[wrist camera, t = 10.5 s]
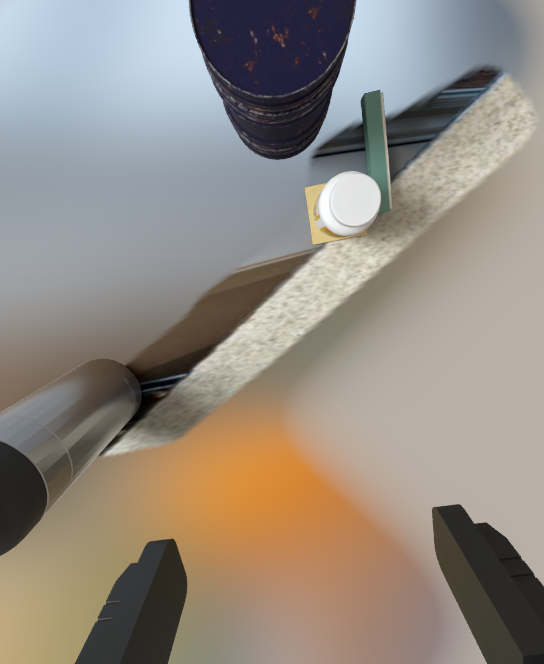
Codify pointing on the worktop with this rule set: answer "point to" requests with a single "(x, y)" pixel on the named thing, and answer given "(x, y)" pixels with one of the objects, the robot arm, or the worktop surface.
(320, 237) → the pad
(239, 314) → the worktop surface
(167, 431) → the worktop surface
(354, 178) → the supplement bottle
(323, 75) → the dark blue cylinder
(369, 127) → the price rail
